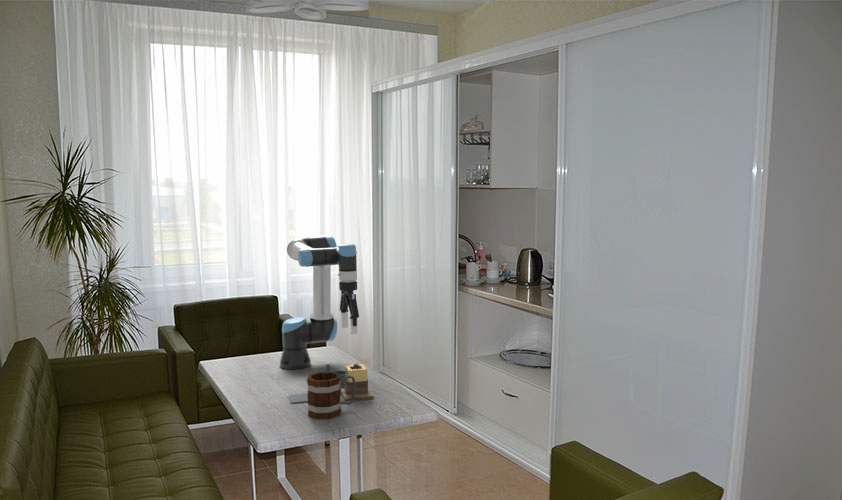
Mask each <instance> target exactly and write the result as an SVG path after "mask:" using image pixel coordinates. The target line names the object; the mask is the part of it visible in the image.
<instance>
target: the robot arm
mask: <svg viewBox="0 0 842 500" xmlns="http://www.w3.org/2000/svg"><path fill="white" fill-rule="evenodd" d="M335 239H336V238H334V236H333V235H325V234H322V235H311V236H310V235H308V236H305V235H304V236H299V237H296V238H294V239H292V240H291V241H290V242H289V243H288V244H287V247H286V253H287V255H288V256H289V258H290V259H291V260H294V261H298V265H299V266H300V267H301V268H302V267H303V268H304V267H307V268H309V267H312V289H313V290H312V293H313V294H312V295H313V296H312V303H313V306H312V309H313V310H312V313H311V314H310V316H309V319H306V317H303V316H301V317H300V316H298V317H292V318H288V319H286V320H284V321H283V322H282V325H281V326H282V328H281V333H282V353H281V356H280V360H279V367H280V368H281V369H285V370H301V369H306V368H308V367H310V366H311V365H312V362H311V361H312V360H311V357H310V353H309V351H308V348H307V347H308V346H307V345H308V344H315V343H317V344H318V343H328V342H332V341H334V340H335V339H336V336H337V333H338V321H337V320H338V319H337V318H336V317H334V314H333V313H332V312H331V303H332V302H331V300H332V298H331V297H332V295H331V293H332V292H331V290H332V289H331V288H332V286H331V282H332V281H331V278H332V276H331V272H332V271H331V270H332V266H338V274H337V276H338V279H339V282H338V285H339V286H338V287H339V291H340V302H339V311H340V313H341V314H340V317H341V328H342V329H345V328H346V329H348V328H349V321H350V334H351V335H355V334H356V335H357V334H358V333H359V332H358V318H360V313H359V308H358V301H357V294H356V293H354V291H357V290H358V281H357V280H358V269H357V268H358V265H357V263H358V262H357V255H358V254H357V253H358V251H357V245H356V244H354V243H342V244H341V243H340V244H339V245H338V246H337V242H336V240H335ZM349 313H350V314H349ZM349 315H350V316H349ZM349 319H350V320H349Z"/></svg>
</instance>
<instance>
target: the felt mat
mask: <svg viewBox="0 0 842 500" xmlns="http://www.w3.org/2000/svg"><path fill="white" fill-rule="evenodd" d="M288 398H289V403H290V405H293V404H301V403H303V404H304V403H308V392H305V393H294V394H288Z"/></svg>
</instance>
